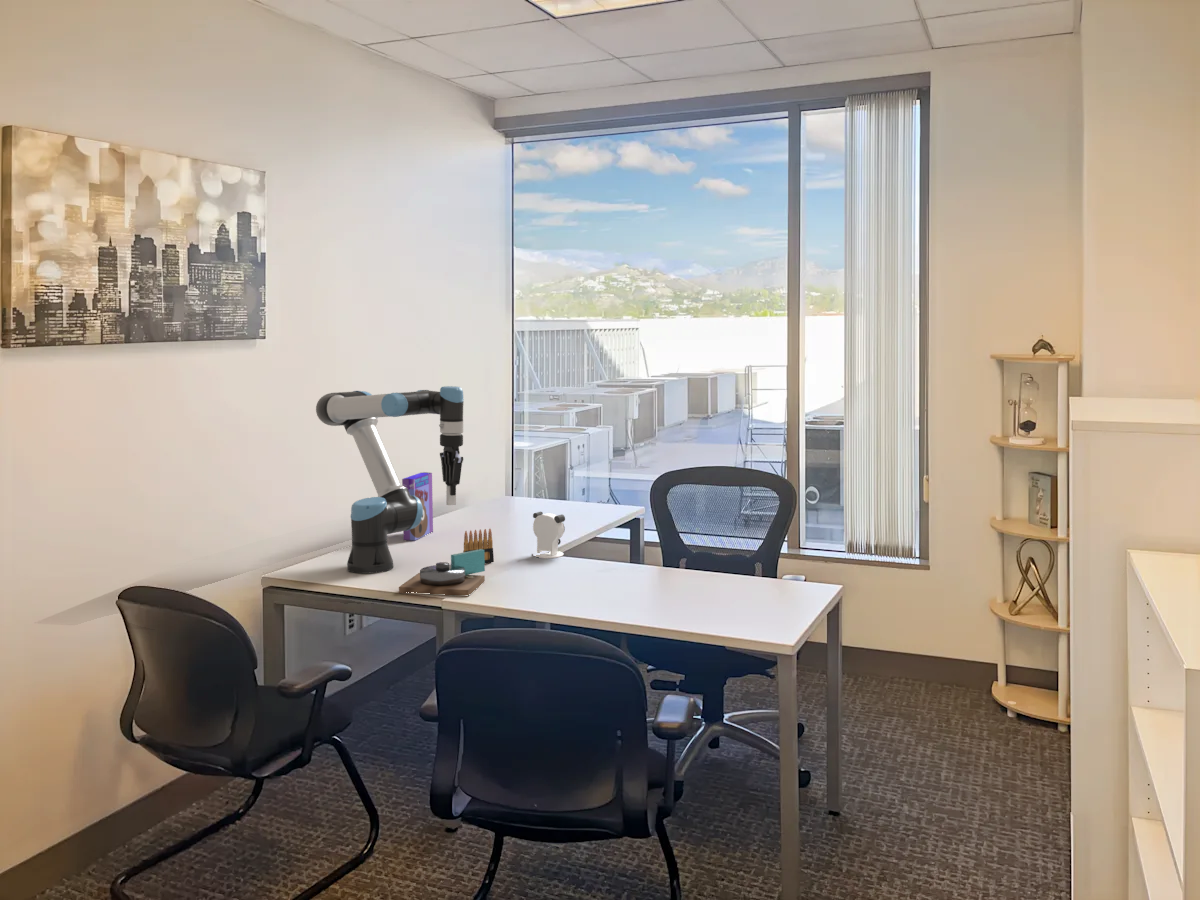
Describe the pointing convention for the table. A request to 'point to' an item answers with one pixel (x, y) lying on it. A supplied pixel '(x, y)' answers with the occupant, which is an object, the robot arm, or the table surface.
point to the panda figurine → (548, 533)
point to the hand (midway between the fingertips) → (451, 504)
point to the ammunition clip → (480, 544)
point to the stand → (443, 586)
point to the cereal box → (423, 490)
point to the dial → (454, 568)
